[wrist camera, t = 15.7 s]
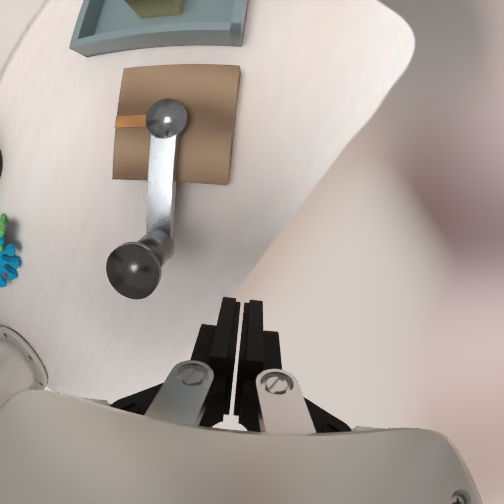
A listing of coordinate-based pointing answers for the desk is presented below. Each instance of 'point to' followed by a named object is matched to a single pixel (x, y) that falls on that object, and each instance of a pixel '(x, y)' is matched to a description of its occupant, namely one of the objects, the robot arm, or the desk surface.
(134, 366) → the desk surface
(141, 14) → the block
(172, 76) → the crank base
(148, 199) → the crank
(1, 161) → the wine bottle
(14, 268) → the blue lobed piece
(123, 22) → the tray
